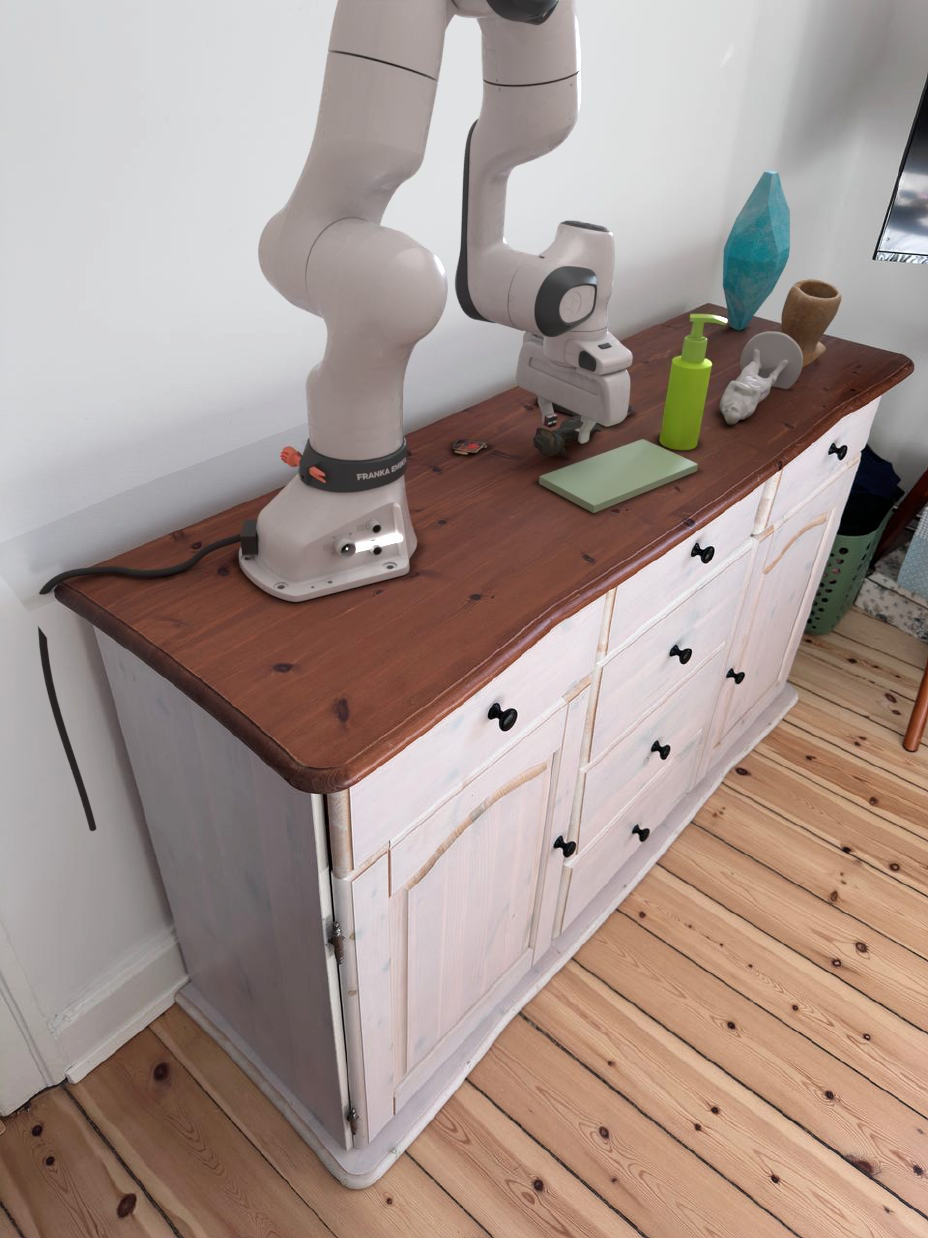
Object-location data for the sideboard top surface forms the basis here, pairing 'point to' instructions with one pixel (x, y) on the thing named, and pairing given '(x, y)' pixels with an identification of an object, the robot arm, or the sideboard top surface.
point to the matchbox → (467, 446)
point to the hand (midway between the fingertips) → (564, 433)
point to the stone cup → (809, 315)
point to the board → (617, 475)
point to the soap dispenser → (688, 388)
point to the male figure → (761, 373)
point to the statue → (559, 437)
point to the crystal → (756, 250)
